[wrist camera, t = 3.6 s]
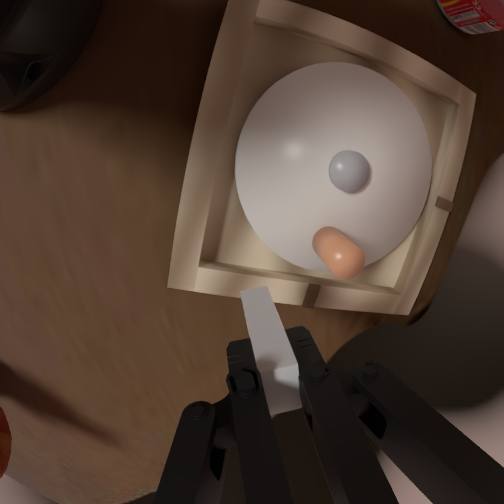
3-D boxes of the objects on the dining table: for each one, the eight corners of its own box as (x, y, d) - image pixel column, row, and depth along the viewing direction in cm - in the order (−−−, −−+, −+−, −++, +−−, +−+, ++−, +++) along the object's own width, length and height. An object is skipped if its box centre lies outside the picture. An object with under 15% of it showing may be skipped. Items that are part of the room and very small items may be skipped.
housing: (170, 274, 25) (166, 289, 22) (230, -2, 17) (233, -15, 15) (397, 303, 29) (410, 316, 27) (460, 93, 22) (478, 94, 20)
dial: (213, 250, 23) (216, 281, 19) (263, 36, 18) (279, 13, 13) (391, 278, 27) (420, 305, 22) (441, 109, 21) (481, 111, 17)
